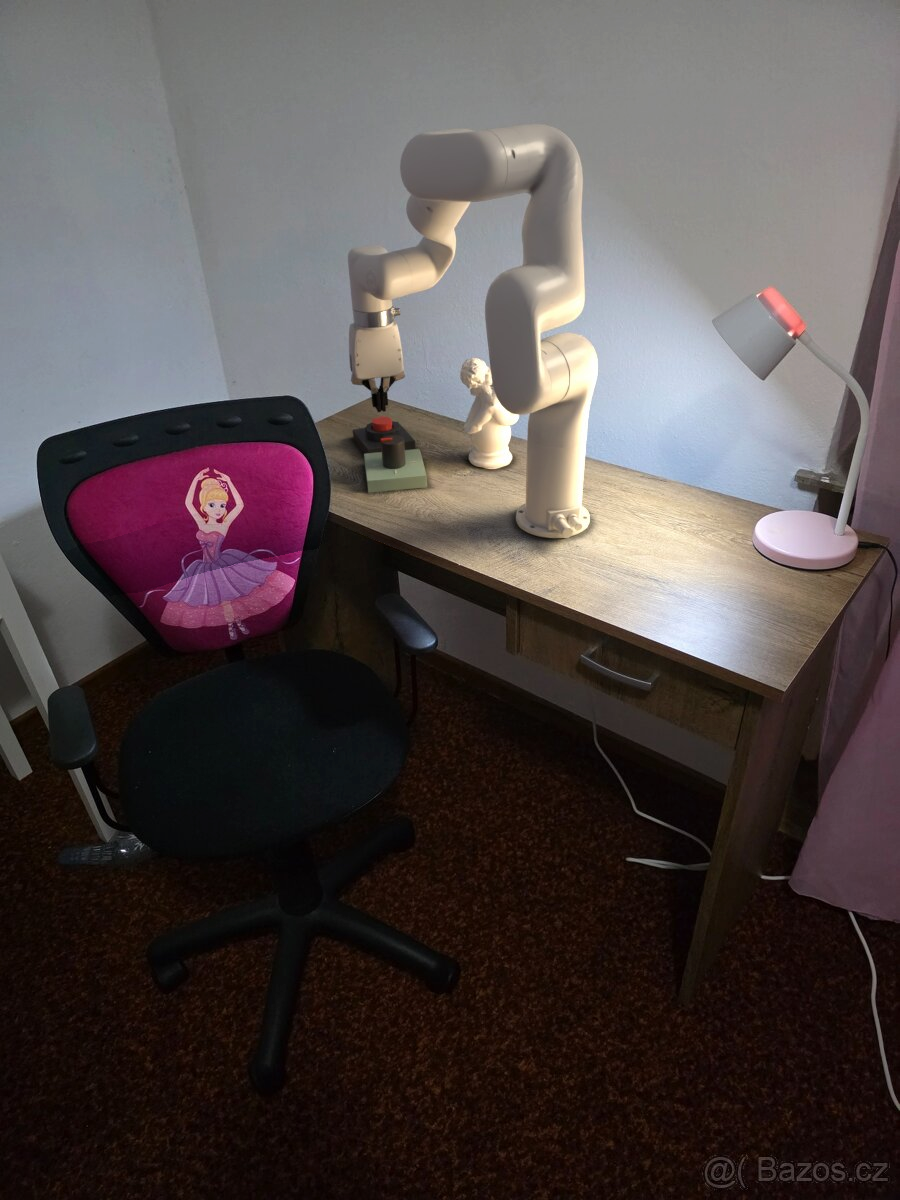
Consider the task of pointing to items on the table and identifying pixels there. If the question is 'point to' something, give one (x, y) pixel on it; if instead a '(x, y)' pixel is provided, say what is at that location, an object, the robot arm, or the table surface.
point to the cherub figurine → (486, 418)
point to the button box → (372, 439)
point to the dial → (393, 451)
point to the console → (395, 473)
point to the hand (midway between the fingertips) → (380, 409)
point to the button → (382, 424)
